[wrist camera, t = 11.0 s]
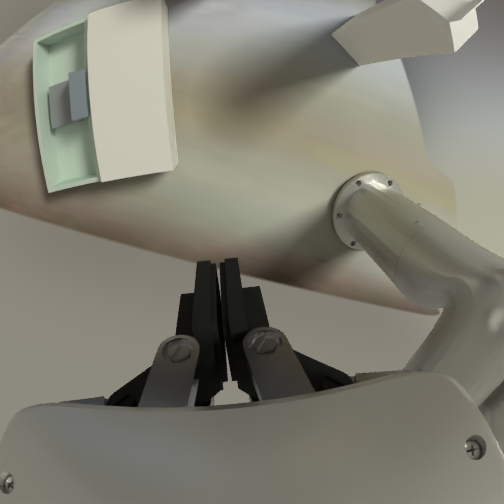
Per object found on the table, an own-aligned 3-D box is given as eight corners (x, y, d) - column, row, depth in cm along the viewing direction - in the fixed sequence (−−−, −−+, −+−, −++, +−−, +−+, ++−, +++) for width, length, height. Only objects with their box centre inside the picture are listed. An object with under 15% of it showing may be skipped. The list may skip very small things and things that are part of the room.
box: (100, 23, 24) (88, 16, 20) (112, 173, 34) (102, 180, 31) (47, 44, 23) (33, 40, 20) (61, 184, 34) (48, 192, 30)
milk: (329, 34, 28) (435, -15, 9) (356, 14, 27) (463, -32, 7) (359, 67, 31) (480, 52, 11) (384, 45, 29) (502, 27, 10)
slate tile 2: (48, 87, 25) (55, 87, 26) (51, 129, 28) (59, 127, 29) (73, 78, 25) (79, 79, 27) (76, 121, 28) (82, 120, 30)
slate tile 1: (84, 68, 23) (68, 73, 22) (88, 116, 26) (72, 120, 25) (84, 75, 26) (70, 78, 25) (88, 118, 29) (73, 122, 28)
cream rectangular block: (167, 7, 24) (161, -7, 20) (178, 162, 35) (173, 170, 31) (102, 23, 24) (88, 13, 19) (114, 172, 34) (101, 182, 30)
